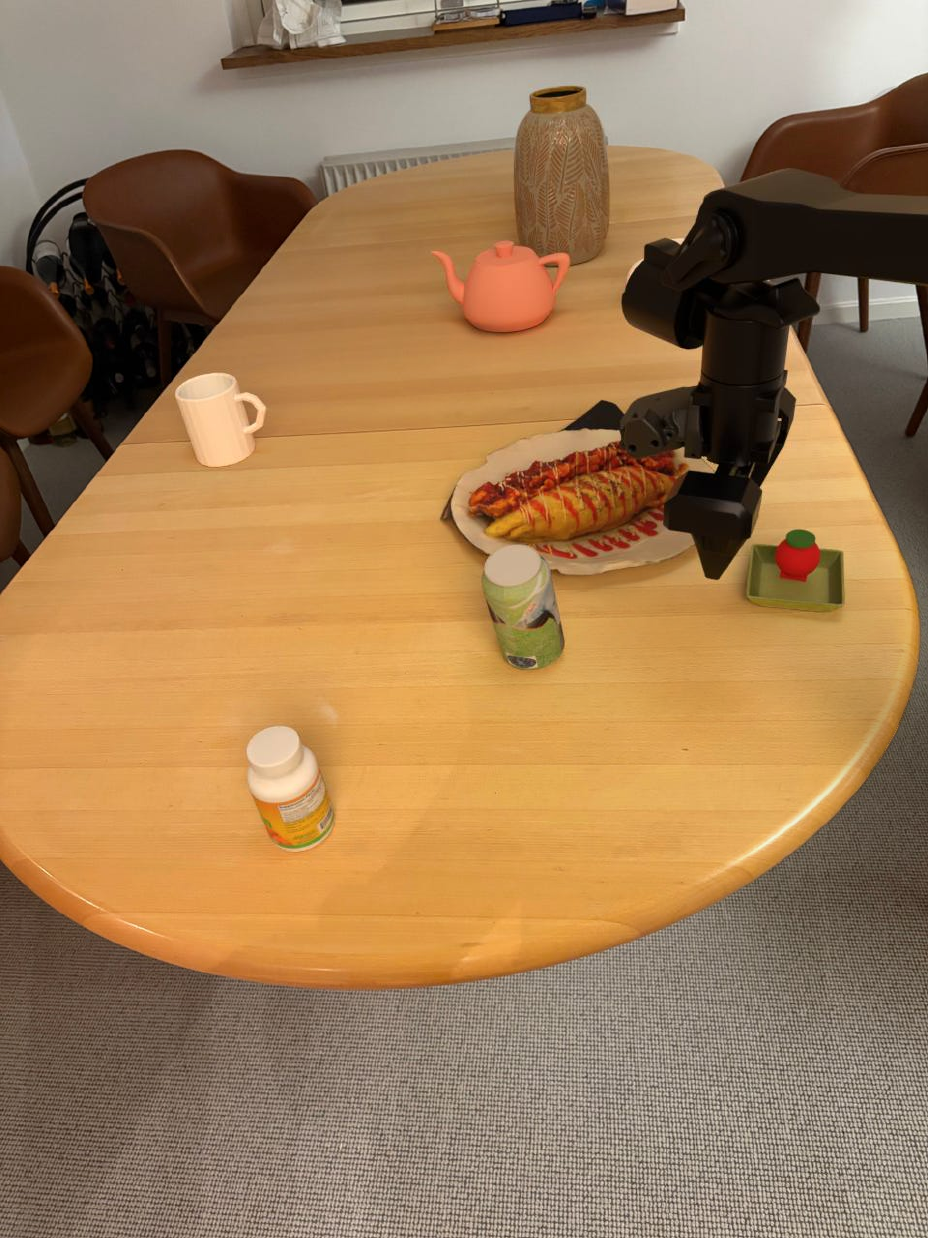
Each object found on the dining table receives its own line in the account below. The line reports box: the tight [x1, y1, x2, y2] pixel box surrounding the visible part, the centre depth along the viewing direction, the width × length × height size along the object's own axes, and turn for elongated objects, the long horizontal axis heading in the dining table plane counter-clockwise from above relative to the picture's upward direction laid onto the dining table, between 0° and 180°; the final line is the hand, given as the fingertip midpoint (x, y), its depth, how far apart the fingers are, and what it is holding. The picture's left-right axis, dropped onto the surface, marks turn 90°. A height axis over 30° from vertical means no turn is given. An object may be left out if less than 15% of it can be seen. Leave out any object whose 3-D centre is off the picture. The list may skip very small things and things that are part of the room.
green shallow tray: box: [745, 543, 846, 613], centre depth 85 cm, size 9×9×2 cm
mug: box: [174, 372, 267, 468], centre depth 117 cm, size 8×12×10 cm
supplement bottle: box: [246, 725, 336, 853], centre depth 68 cm, size 5×5×10 cm
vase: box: [513, 85, 611, 267], centre depth 158 cm, size 17×17×27 cm
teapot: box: [429, 240, 571, 333], centre depth 142 cm, size 22×15×12 cm
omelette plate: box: [439, 399, 716, 576], centre depth 101 cm, size 31×35×7 cm
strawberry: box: [775, 528, 820, 582], centre depth 83 cm, size 4×4×4 cm
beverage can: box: [480, 545, 566, 671], centre depth 79 cm, size 6×7×12 cm
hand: (725, 545), depth 73 cm, fingers open, 9 cm apart
